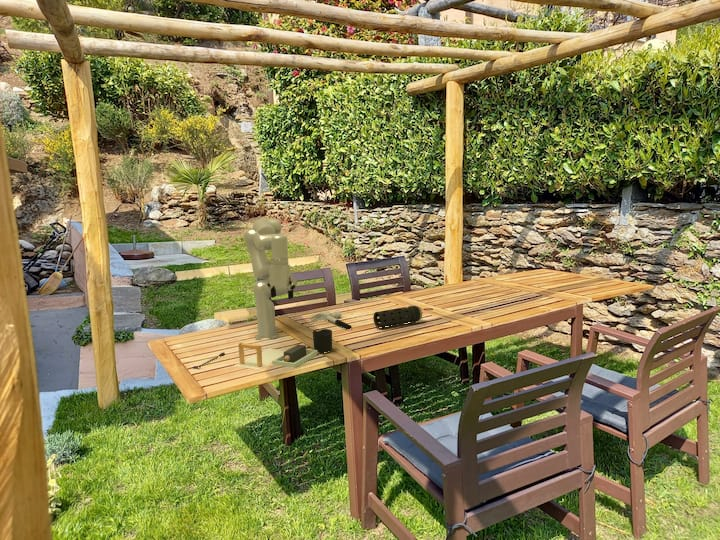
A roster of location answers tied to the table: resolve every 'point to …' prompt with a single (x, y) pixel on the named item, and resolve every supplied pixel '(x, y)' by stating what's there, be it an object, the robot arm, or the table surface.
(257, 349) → the orange pull handle
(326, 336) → the pen holder
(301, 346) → the dark grey block
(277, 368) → the table surface
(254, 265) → the robot arm
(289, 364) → the tray
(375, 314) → the muzzle brake
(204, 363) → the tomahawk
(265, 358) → the board
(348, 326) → the claw hammer
